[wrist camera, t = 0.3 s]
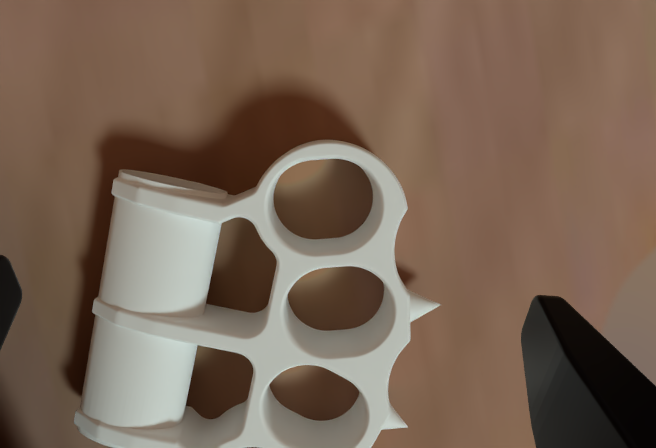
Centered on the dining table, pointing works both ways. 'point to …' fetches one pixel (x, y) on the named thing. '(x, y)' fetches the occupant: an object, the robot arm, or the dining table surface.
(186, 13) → the dining table surface
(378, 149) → the dining table surface
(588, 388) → the robot arm
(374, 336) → the white spiky piece
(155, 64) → the dining table surface
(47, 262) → the dining table surface
